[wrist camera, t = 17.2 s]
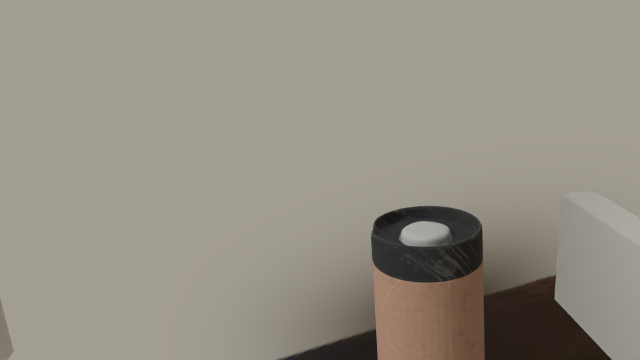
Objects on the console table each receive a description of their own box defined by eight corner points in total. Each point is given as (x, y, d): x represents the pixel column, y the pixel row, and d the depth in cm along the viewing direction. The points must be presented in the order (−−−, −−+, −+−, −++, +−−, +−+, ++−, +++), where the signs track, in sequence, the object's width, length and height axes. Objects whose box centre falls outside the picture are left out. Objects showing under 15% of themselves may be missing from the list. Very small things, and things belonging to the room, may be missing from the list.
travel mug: (506, 466, 44) (508, 222, 38) (436, 522, 40) (426, 259, 34) (432, 414, 50) (424, 197, 44) (365, 459, 46) (346, 226, 40)
